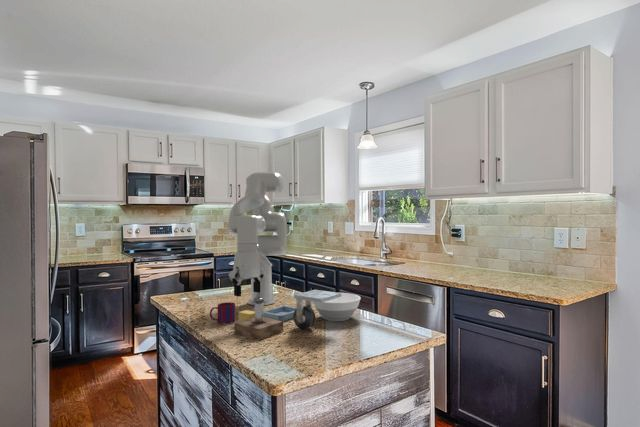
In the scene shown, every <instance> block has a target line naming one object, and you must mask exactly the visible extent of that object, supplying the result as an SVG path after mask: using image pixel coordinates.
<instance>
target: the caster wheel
mask: <svg viewBox="0 0 640 427" xmlns="http://www.w3.org/2000/svg"><path fill="white" fill-rule="evenodd" d="M341 293H342V292H335V291H328V290H327V291H326V290H322V289H321V290H319V289H312V290H308V291H304V292H300V293H297V294H294V296H293V298H294V299H296V302H295V303H296V306H295V307H296V310H295V311H294V315H293V319H292V320H293V322H294V324H295V327H297V328H298V329H300V330H303V331H304V330H307V329H310V328H312V327H314V325H315V323H316V313H315V311H314V309H313V301H315V302H321V303H322V302H325V301H328V300H332V299H335V298H338V297H341ZM304 301H305V305H304Z"/></svg>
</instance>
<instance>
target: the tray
mask: <svg viewBox="0 0 640 427" xmlns="http://www.w3.org/2000/svg"><path fill="white" fill-rule="evenodd" d="M295 310H296V306H289V305H285V304H284V305H280V306H277V307H274V308H273V307H272V308H270V309H267V310H263V317H265V318H270V319H274V320H279V321H283V323H284V322H286V321H289V320H294V319H293V315H294V311H295Z"/></svg>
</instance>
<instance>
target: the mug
mask: <svg viewBox="0 0 640 427" xmlns="http://www.w3.org/2000/svg"><path fill="white" fill-rule="evenodd" d="M215 309H216V310H217V318H214V317H213V314H212V313H213V310H215ZM209 317H210V318H211V319H212V320H213V321H215V322H217V323H218V324H221V325H229V324H233V323H234V324H235V323H236V303H235V302H228V301H227V302H220V303H218V304H217V306H216V307H211V308H210V310H209Z"/></svg>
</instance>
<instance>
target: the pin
mask: <svg viewBox="0 0 640 427" xmlns="http://www.w3.org/2000/svg"><path fill="white" fill-rule="evenodd" d="M254 302H255V305H254V312H255V324H258V325H260V324H263V311H264V305H263V302H264V298H263V297H257V298H254Z"/></svg>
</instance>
